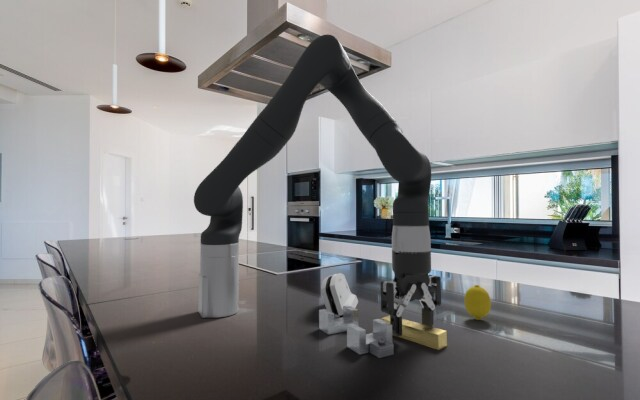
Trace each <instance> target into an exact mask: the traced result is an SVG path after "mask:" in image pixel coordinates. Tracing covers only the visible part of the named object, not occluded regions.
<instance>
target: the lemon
mask: <svg viewBox="0 0 640 400" xmlns="http://www.w3.org/2000/svg"><path fill="white" fill-rule="evenodd" d="M463 302H464V307H465V309H466V312H467V313H468V314H469V316H470V315H471V316H472V317H474V319H475V320H477V321H480V320H481V319H483V318H485V317H486V316H488V314H489V313H490V311H491V307H492V301H491V297H490V295H489V292H488V291H487V290H486V289H485V288H484V287H482V286H480V285H479V284H474V286H471V287H469V288H468V289H467V290H466V292H465V294H464V301H463Z"/></svg>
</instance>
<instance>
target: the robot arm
mask: <svg viewBox="0 0 640 400" xmlns="http://www.w3.org/2000/svg"><path fill="white" fill-rule="evenodd" d="M318 84H319V85H321V86H322V87H323V88H324V89H325V90H327V91H328V92H330V93H331V94H332V95H333V96H334V97H335V98H336V99H337V100H338V101H339V102H340V104H341V105H343V107H344V108H345V109H346V111H347V113H348V114H349V115H350V118H351V119H352V121H353V122H354V123H355V125H356V127H357V128H358V129H359V131H360V133H361V134H362V135H363V136H364V138H365V139H366V140H367V142H368V144H369V145H371V148H373V149H374V150H375V152H376V155H377V157H378V158H379V160H380V162H381V164H382V166H383V168H384V169H385V170H386V172H387V173H388V174H389V175H390V177H391V178H393V180H395V181H396V182H398V187H397V197H396V198H394V200H393V201H392V202H393V203H392V232H391V268H392V271H393V274H394V277H393V280H391V281H390V280H389V281H386V280H382V281H381V282H380V311H381V312H382V313H385V314H387V315H388V316H389V315H390V324H392V333H393V334H394V335H396V336H395V337H398V338H400V337H399V336H402V319H403V316H401V315H402V313H403V311H404V310H405V308H406V307H408V305H409V303H410V302H413V301H415V300H417V301H419V303H420V305H421V306H422V308H421V324H423V325H427V326H431V327H434V311H435V309H436V307H437V306H441V305H442V279H441V276H439V275H434V274H430V273H431V272H432V250H431V249H432V247H431V246H432V245H431V243H432V242H431V232H430V220H429V219H430V214H429V212H430V211H429V198H430V191H431V183H432V165H431V161H430V159H429V158H428V156H427V155H425V153H423V152H422V151H420V150H417V148H415V146H414V145H413V144H412V143H411V142H410V140H409V139H408V138H407V137H406V136H405V135H404V133H403V132H404V131H403V129H402V127H401V126H400V125H399V123H398V121H396V119H395V118H394V117H393V116H392V115H391V113H390V112H389V111H388V110H387V108H385V106H384V105H383V104H382V103H381V102H380V101H379V100H378V99H377V98H376V97H375V96H373V95H372V94H371V93H370V92H369V91H368V90H367V89H366V88H365V86H364V85H363V83H362V82H361V81H360V79H359V77H358V76H357V74H356V71H355V69H354V68H353V66H352V63H351V60H350V57H349V55H348V54H347V52H346V50H345V49H344V47H343V45H342V43H341V42H340V41H339V39H338V38H337V37H335V36H334V35H332V34H322V35H320V36H318V37H316V38H315V39H314V40H313V41H311V42H310V43H309V44H308V45H307V47H306V48H305V49H304V51H303V52H302V54H301V55H300V57H299V58H298V60H297V62H296V63H295V65H294V66H293V68H292V70H291V71H290V73H289V75H288V76H287V77H286V79H285V81H284V82H283V83H282V85H281V86H280V87H279V88H278V89H277V91H276V92H275V94H273V97H272V98H271V99H270V101H269V102H268V103H267V105H266V106H265V107H264V108H263V109H262V111H260V113H259V114H258V115H257V117H255V118H254V119H253V122H251V124H250V125H249V126H248V127H247V129H246V131H245V132H244V134H243V135H242V136H241V137H240V138H239V139H238V141H237V142H236V143H235V144H234V146H233V147H232V148H231V150H230V151H229V152H228V154H227V155H225V157H224V158H223V159H222V161H220V162H219V164H217V166H216V167H214V169H213V170H211V172H209V174H208V175H206V177H205V178H203V179H202V180H201V182H200V184H199V185H198V186H197V187H196V190H195V192H194V195H193V204H194V207H195V209H196V211H197V212H199V213H200V214H201V215H203V216H208V217H210V220H209V224H208V226H207V228H206V229H204V230H203V231H202V232H201V234H200V254H199V255H200V261H199V262H200V269H199V271H200V273H199V274H198V304H197V305H198V306H197V307H198V311H197V312H198V313H199V316H200V317H201V318H203V319H205V318H222V317H223V318H225V317H228V316H233V315H235V314H237V313H238V312H239V304H240V302H239V275H240V274H239V268H240V267H239V263H240V262H239V254H240V252H239V251H240V250H239V249H240V246H239V244H240V243H239V242H240V241H239V238H240V234H241V232H242V228H243V213H244V210H243V209H244V200H243V199H244V197H243V193H242V190H241V188H240V185H241V184H242V182H244V181H245V180H246V178H247V177H249V175H251V174H253V173H254V172H256V171H257V170H258V169H259V168H261V167H262V166H264V165H266V164H267V163H268V162H270V161H271V160H273V158H275V157H276V156H277V155H278V154H279V153H280V152H281V151H282V150H283V148H284V147H285V145H287V143H288V142H289V141H290V140H291V138H292V137H293V136H294V133H295V132H296V130H297V127H298V125H299V120H300V118H301V114H302V112H303V108H304V105H305V104H306V101H307V99H308V97H309V96H310V95H311V93H312V92H313V91H314V90H315V88H316V87H317V86H318ZM394 335H393V336H394Z"/></svg>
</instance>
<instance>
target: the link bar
mask: <svg viewBox="0 0 640 400" xmlns="http://www.w3.org/2000/svg"><path fill="white" fill-rule="evenodd" d="M380 319H381V320H383V321H385V322H387V323H390V315H389V314H388V315H387V316H384V317H381V318H380ZM447 335H448V333H447V330H444V329H441V328H437V327H434V326H433V327H431V326H427V325H423V324H422V323H419V322H417V321H416V322H415V321H413V320H412V321H411V320H408V319H404V318H402V336H399V337H398V338H401V339H404V340H406V341H410V342H413V343H416V344H419V345H422V346H425V347H428V348H430V349H431V348H432V349H434V350H438V351H439V350H442V349H443V348H446V347H447V346H448V340H447V338H448V337H447ZM392 336H395V337H397V336H396V335H394V334H393V333H392Z"/></svg>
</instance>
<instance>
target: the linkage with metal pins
mask: <svg viewBox="0 0 640 400" xmlns="http://www.w3.org/2000/svg"><path fill="white" fill-rule="evenodd" d="M340 316H341V315H340ZM340 316H339V315H336V314H334V313H332V312H330V311H328V310H327V309H326V308H322V309H319V310H318V321H319V323H318V326H319V327H318V329H319V330H320V331H322V332H323V333H325V334H327V335H333V334H339V333H344V332H346V347H347V348H349V349H350V350H352V352H353V351H354V352H355V353H357V355H364V354H368V353H369V354H371V355H373V356H374V357H377V358H378V359H382V358H386V357H389V356H393V355H394V343H393V335H392V324H390V323H387V322H385V321H383V320H381V318H376V319H372V332H370V333H366V332H367V331H366V330H367V329H364V328H363V327H360V326H359V309H358V308H357V307H356V308H353V307H351V306H349V305H347V306H343V315H342V317H340Z"/></svg>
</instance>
